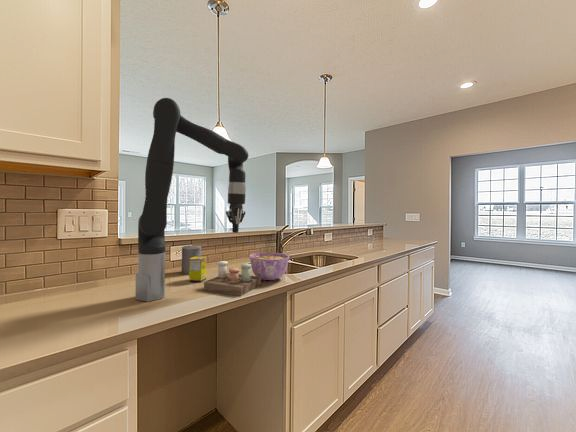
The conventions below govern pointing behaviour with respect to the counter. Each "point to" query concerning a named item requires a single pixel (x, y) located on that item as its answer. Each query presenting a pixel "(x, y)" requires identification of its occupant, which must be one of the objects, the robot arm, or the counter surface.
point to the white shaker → (222, 269)
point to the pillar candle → (189, 256)
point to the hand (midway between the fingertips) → (235, 232)
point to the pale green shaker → (246, 272)
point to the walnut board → (232, 285)
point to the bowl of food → (269, 265)
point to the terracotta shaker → (234, 274)
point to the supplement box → (197, 269)
